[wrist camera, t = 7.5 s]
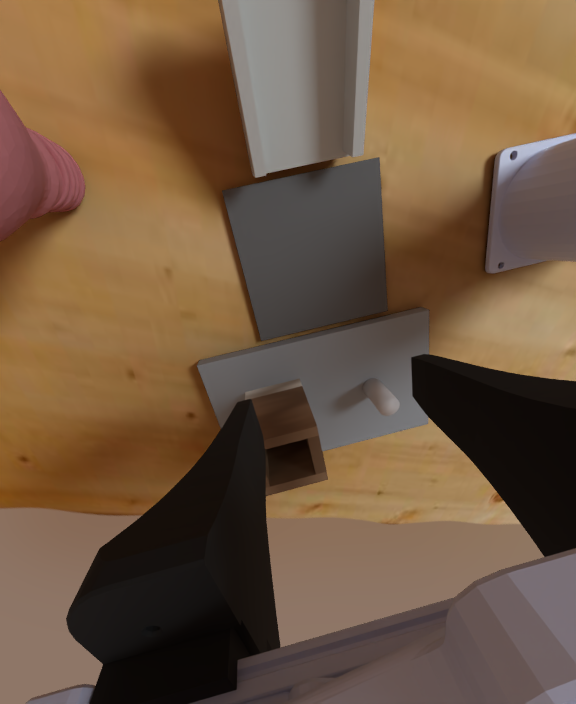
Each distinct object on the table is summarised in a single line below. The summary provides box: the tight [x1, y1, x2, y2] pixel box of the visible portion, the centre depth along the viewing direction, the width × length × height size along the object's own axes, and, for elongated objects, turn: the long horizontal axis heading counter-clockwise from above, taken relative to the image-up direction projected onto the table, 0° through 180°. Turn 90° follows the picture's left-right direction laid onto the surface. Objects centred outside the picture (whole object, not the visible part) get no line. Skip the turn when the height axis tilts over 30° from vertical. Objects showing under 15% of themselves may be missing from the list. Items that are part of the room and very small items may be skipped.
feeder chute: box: [218, 0, 374, 178], centre depth 12 cm, size 6×8×6 cm
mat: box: [222, 157, 388, 341], centre depth 19 cm, size 10×10×1 cm
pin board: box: [197, 307, 429, 451], centre depth 21 cm, size 18×11×4 cm, turn 102°
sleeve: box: [245, 379, 328, 496], centre depth 19 cm, size 4×4×6 cm
